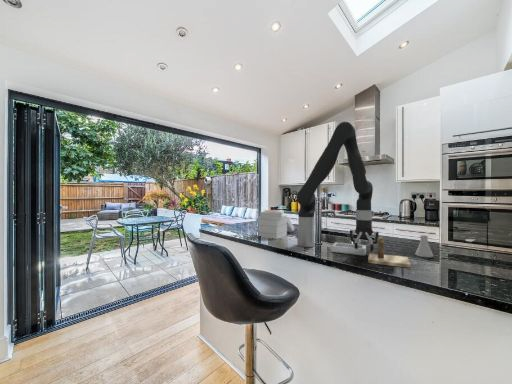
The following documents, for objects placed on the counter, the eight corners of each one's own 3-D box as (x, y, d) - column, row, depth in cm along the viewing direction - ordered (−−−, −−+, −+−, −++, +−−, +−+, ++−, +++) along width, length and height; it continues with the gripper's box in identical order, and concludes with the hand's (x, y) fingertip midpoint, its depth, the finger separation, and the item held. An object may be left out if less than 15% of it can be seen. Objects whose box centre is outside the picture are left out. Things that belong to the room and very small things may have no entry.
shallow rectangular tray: (331, 251, 126) (331, 246, 126) (335, 247, 135) (335, 242, 135) (364, 255, 118) (364, 249, 118) (366, 250, 127) (366, 245, 127)
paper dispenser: (296, 232, 181) (296, 209, 181) (277, 240, 156) (277, 212, 156) (275, 230, 192) (274, 208, 192) (254, 236, 167) (253, 211, 167)
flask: (425, 258, 112) (425, 237, 112) (411, 254, 119) (411, 234, 119) (437, 257, 114) (437, 236, 114) (422, 253, 121) (422, 234, 121)
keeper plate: (368, 262, 107) (368, 238, 107) (369, 256, 117) (369, 233, 117) (410, 267, 99) (410, 241, 99) (407, 260, 110) (407, 236, 110)
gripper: (348, 218, 123) (348, 250, 123) (379, 220, 116) (379, 254, 116) (349, 217, 130) (350, 247, 130) (379, 218, 123) (379, 250, 123)
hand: (364, 250), depth 123 cm, fingers open, 6 cm apart
